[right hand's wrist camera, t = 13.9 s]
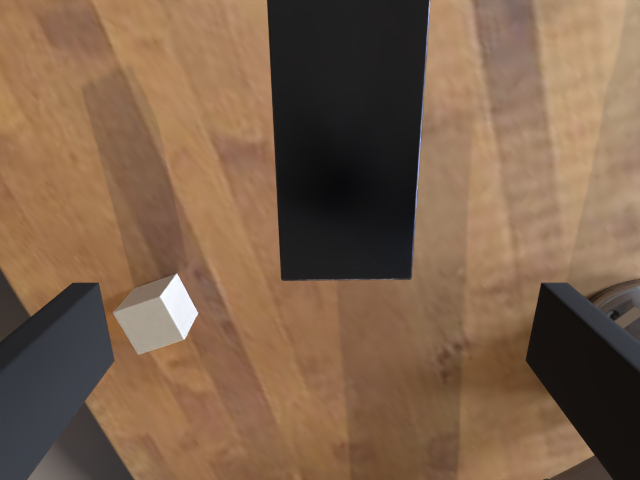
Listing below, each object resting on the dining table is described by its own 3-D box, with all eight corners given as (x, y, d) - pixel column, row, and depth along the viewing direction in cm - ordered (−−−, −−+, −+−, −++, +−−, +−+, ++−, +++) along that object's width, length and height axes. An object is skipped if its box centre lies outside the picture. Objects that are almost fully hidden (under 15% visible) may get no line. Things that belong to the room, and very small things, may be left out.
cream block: (177, 273, 44) (160, 296, 39) (198, 313, 45) (184, 339, 41) (133, 288, 44) (112, 312, 40) (156, 327, 46) (137, 355, 41)
